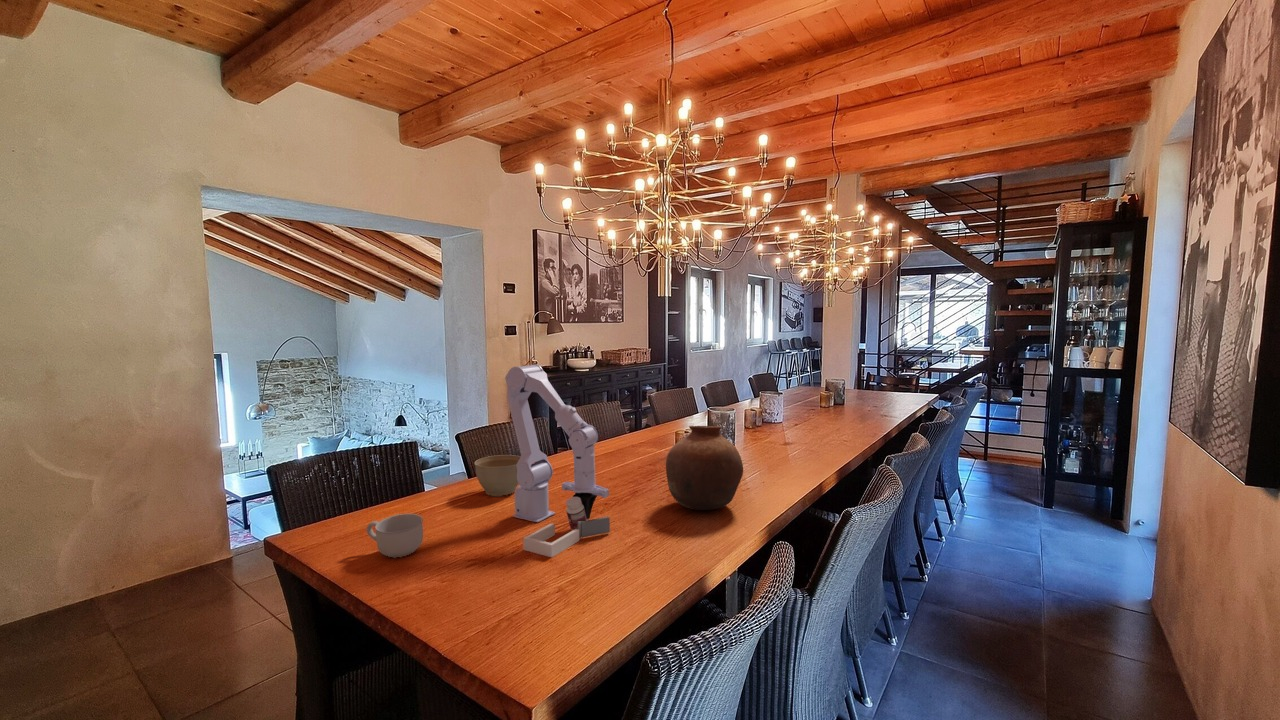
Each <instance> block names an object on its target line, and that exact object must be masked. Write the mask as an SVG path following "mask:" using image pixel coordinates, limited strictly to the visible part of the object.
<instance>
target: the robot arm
mask: <svg viewBox="0 0 1280 720" xmlns="http://www.w3.org/2000/svg"><path fill="white" fill-rule="evenodd" d="M504 379H505V382H506V386H507V391H506V398H507V402H508V406H509V411H510V414H511V419H512V423H513V427H514V431H515V436H516V440H517V444H518V448H519V451H520V459H519V461H518V463H517V465H516V466H517V481H518V483H519V484H518V485H517V487H516V489H515V492H514V514H513V517H514V518H518V519H521V520H525V521H530V522H533V523H539V522H541V521H542V522H543V520H546V519H548V518H550V517H552V516H553V515H555V514H556V512H555V511H552V510H549V509H550V508H549V506H550V504H549V484H550V480H551V478H552V477H553V473H554V470H553V466H552V464H551V463H550V462H549V459H548V455H547V454H546V453H544V452H543V451H541V449H540V445H539V439H538V437H537V433H536V432H537V431H536V429H535V425H534V421H533V417H532V412H531V409H530V404H529V401H528V399H529V397H530V396H531V394H532V393H537V394H538V395H539V396H540V398H542V400H543V401H544V402H545V403H546V404H547V405H548V406H549V407H550V409H552V411H553V412H554V419H555V421H556V422H557V423H558V424H559V426H560V427H561V428H562V429H563V431H564V432H565V433H566V435H567V436H568V437H569V438H568V444H569V446H570V448H571V449H572V455H573V481H574V482H570V481H565V482H562V483H561V490H562V491H565V492H566V491H571V492H574V494H573V495H572V497H579V498H580V499H581V502H582V504H583V506H584V510H585V515H586V519H587V520H590V517H591V513H592V509H593V507H594V506H593V505H594V503H595V501H596V499H597V498H598V497H602V498H604V499H606V498H607V497H609V496H610V490H609V488H605V487H604V486H600V485H598V484H596V466H595V465H596V463H595V462H596V460H595V455H596V454H595V445H596V444H597V442H598V439H599V433H598V431H597V429H596V428H595V427H596V426H595V427H594V426H593V425H592V424H588V423H587V422H586V421H584V419H583V418H582V417H581V416H580V415H579V413H578V412H577V409H576V407H575V406H572V405H568V404H565V403H564V401H563V400H562V398H561V397H560V394H558V392H557V390H556V389H555V388H554V386H553V385H552V384H551V382H550V381H549V379H548V374H547V372H545V371H544V369H543V368H542V366H541V365H539V364H536V363H534V364H530V365H524V366H523V365H521V366H512V367H511V368H510V369H509V370H508V372H507V374H506V375H505V377H504Z"/></svg>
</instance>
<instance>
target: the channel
mask: <svg viewBox="0 0 1280 720" xmlns="http://www.w3.org/2000/svg"><path fill="white" fill-rule="evenodd" d="M555 535H556V524H555V523H549V524H547V525H545V526H543V527H541V528H540V529H538V530H536V531H534V532H532V533H530V534H528V535H526V536H524V537H523V538H522V541H523V543H522V544H523V550H524V551H527V552H531V553H534V554H537V555H541V556H545V557H549V558H554V557H555V556H557V555H558V554H560V553H562V552H563V551H565V550H567V549H568V548H570V547H572V546H573V545H574V544H575V545H576V543H578V542H579V541H580V539H579V529H575V530H573V531H569V532H568V533H566V534H564V535H562V536H560V537H559V538H557V539H556V540H554V541H551V542H550V541H549V542H548V541H547V540H548V539H550V538H552V537H554V536H555Z"/></svg>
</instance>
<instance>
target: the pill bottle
mask: <svg viewBox="0 0 1280 720" xmlns="http://www.w3.org/2000/svg"><path fill="white" fill-rule="evenodd" d="M565 504H566V509H565V511H566V515H567V520H568V524H569V528H570V530H571V531H573V530H575V529H578V521H587V520H588V519H586V515H585V510H584V506H583V504H582V502H581V499H580V498H579V497H573V496H572V497H569V498H568V499H567V500H566V502H565ZM571 531H570V532H571Z"/></svg>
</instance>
